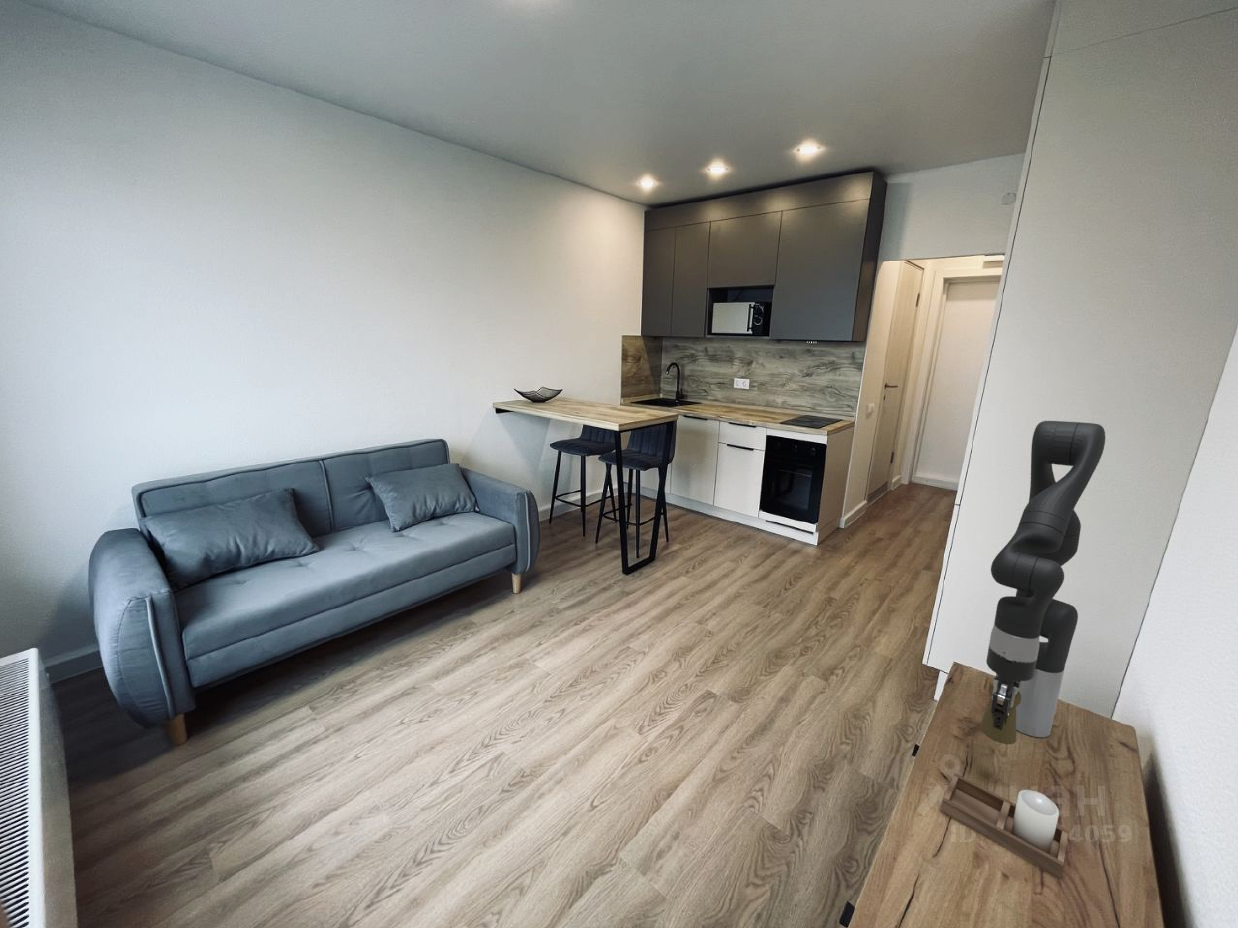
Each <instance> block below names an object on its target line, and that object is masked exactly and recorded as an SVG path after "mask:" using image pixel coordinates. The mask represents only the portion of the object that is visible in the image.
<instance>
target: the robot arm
mask: <svg viewBox="0 0 1238 928" xmlns="http://www.w3.org/2000/svg"><path fill="white" fill-rule="evenodd" d="M1105 445H1106V431H1105V428H1104V427H1103V426H1102V424H1101V425H1100V423H1099V424H1098V423H1093V422H1080V421H1064V420H1063V421H1062V420H1061V421H1060V420H1043V421H1041V422H1038V424H1037V425H1036V426H1035V428H1034V431H1033V435H1032V440H1031V451H1030V452H1031V453H1030V488H1029V498H1028V503H1027V504H1026V506H1025V508H1024V509H1023V511H1022V515H1021V517H1020V520H1019V523H1018V525H1017V528H1016V529H1015V530H1016V531H1015V532H1014V534H1013V535H1012V537H1011V538H1010V540H1009V541H1008V542H1007V543H1006V544H1005V546H1003V548H1002V549H1001V550H1000V551H999V552H998V553H997V555H996V556H995V557H994V559H993V561H992V563H991V566H990V573H991V577H992V579H993V580H994V581H995V582H996V583H997V584H1000V585H1002V586H1004V587H1008V588H1011V589H1015V590H1016V592H1015V593H1016V594H1015V595H1014V596H1013V595H1011V596H1008V595H1007V596H1003V597H1001V598H999V600H998V602H997V604H996V610H995V611H996V612H995V616H994V621H993V627H992V628H991V632H990V637H989V643H988V649H987V656H986V659H985V660H986V661H985V662H986V665H987V666H988V668H989V669H990V670H991V671H992V672H993V673H996V674H995V676H994V678H993V682H992V683H993V686H994V689H993V694H992V700H993V701H992V709H991V713H992V714H993V717H994V716H995V718H994V724H993V727H995V728H997V729H999V730H1002V727H1003V722H1004V721H1005V726H1006V720H1007V718H1008V716H1009V709H1010V707H1013V705H1014V699H1015V695H1016V694H1017V693H1018V691H1019V692H1020V694H1021V702H1020V704H1019V705H1018V706H1016V731H1018V732H1020V733H1022V734H1024V735H1028V736H1031V737H1036V738H1047V737H1049V736H1050V735H1051V732H1052V727H1053V724H1054V719H1055V715H1056V709H1057V705H1058V701H1059V696H1060V691H1061V686H1062V682H1063V678H1064V677H1063V676H1064V674H1065V673H1064V672H1065V668H1066V663H1067V660H1068V657H1069V653H1070V648H1071V644H1072V640H1073V637H1074V634H1075V632H1076V628H1077V625H1078V619H1079V614H1078V610H1077V609H1076V607H1075V606H1074V605H1071V604H1069V603H1066V602H1064V601H1060V600H1057V599H1055V598H1054V597H1055V596H1056V595H1057V593H1058V592H1059V590H1060V589H1061V587H1062V585H1063V583H1064V581H1065V580H1064V579H1065V572H1064V569H1063V567H1062V566H1064V565H1065V564H1067V563H1068V562H1069V561H1070V560H1071V559H1072V558H1073V557H1074V556H1075V555H1076V554H1077V552H1078V548H1079V543H1080V542H1079V541H1080V537H1081V536H1080V535H1081V530H1082V524H1081V520H1080V517H1079V516H1078V515H1077V512H1076V511H1075V507H1076V506H1077V503H1078V501H1079V500H1080V499H1081V497H1082V495H1083V493H1084V491H1085V490H1086V488H1087V486H1088V484H1089V482H1090V481H1091V478H1092V476H1093V474H1094V472H1095V471H1096V468H1097V467H1098V465H1099V463H1100V460H1101V459H1102V456H1103V453H1104V449H1105ZM1053 465H1058V466H1066V467H1067V466H1068V467H1071V468H1070V470H1069V471H1068V472H1067V473H1066V474H1065V475H1064V476H1063V477H1062V478H1060V479H1059V480H1058V481H1056V478H1055V474H1054V470H1053ZM1040 637H1042V638H1044V639H1047V641H1040ZM996 691H997V693H996ZM1011 694H1012V696H1011ZM1010 697H1011V701H1010ZM993 717H992V719H993ZM997 724H998V725H997Z"/></svg>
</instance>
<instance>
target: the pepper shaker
mask: <svg viewBox="0 0 1238 928" xmlns="http://www.w3.org/2000/svg"><path fill="white" fill-rule="evenodd" d="M993 689H994V686H993V682H992V683H991V684H989V688H988V694H989V697H990V698H989V701H988V703H987V706H986V709H985V712H984V714H983V717H982V719H981V722H980V725H979V729H980V731H981V732H982V733H983V735H985V736H986V737H987V738H988V739H991V740H992V741H994V742H997V743H1000V744H1004V745H1013V744H1015V743H1016V742H1017V730H1016V706H1018V705H1019V704H1020V702H1021V694H1020V692H1019V691H1018V693H1017V694H1016V695H1015V699H1014V705H1013V707H1010V709H1009V716H1008V718H1007V720H1006V726H1005V721H1004V722H1003V727H1002V730H999V729H997V728H995V727H993V724H994V718H995V716H994V717H993V714H992V713H991V709H992V701H993V700H992V694H993ZM996 693H997V691H996ZM1011 696H1012V694H1011ZM1010 701H1011V697H1010ZM992 717H993V719H992ZM997 725H998V724H997Z"/></svg>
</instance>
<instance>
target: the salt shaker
mask: <svg viewBox="0 0 1238 928" xmlns="http://www.w3.org/2000/svg"><path fill="white" fill-rule="evenodd" d="M1017 795H1018V796H1017V801H1016V803H1015V804H1016V809H1015V814H1014V819H1013V824H1012V828H1011V834H1012V835H1014V836H1016V837H1018V838H1019V839H1021V840H1023V841H1025V842H1027V843H1029V844H1030V845H1032V846H1034V847H1036V848H1038V849H1040V850H1042V851H1043V852H1045V853H1047V854H1049V855H1050V851H1051V847H1052V843H1053V838H1054V834H1055V830H1056V825H1058V820H1059V816H1060V810H1059V808H1058V806H1057V805H1056V804H1055V803H1054V802H1053V801H1052V800H1051V799H1050V798H1049V797H1047V796H1046V795H1045V794H1044V793H1042V792H1039V791H1035V790H1030V789H1021V790H1020V791H1019V792H1018V794H1017Z"/></svg>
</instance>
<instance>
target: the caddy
mask: <svg viewBox="0 0 1238 928" xmlns="http://www.w3.org/2000/svg"><path fill="white" fill-rule="evenodd" d="M1016 804H1017V803H1014V802H1012V801H1011V800H1008V799H1007V798H1004V797H1002V796H1001V795H998V794H997V793H995V792H992V791H991V790H990V789H988V788H985V787H983V786H981V785H979V784H977V783H975V782H973V781H971V780H970V779H967V778H965V777H963V776H961V775H959V774H957V773H953V776H952V778H951V780H950V783H949V784H948V787H947V790H946V792H945V794H944V796H943V798H942V803H941V809H940V813H943V814H945V815H946V816H948V817H950V818H952V819H953V820H955V821H956V822H959V823H961V824H962V825H964V826H966V827H967V828H969V829H971V830H973V831H975V832H977V833H979V834H980V835H981V836H984V837H985V838H987V839H989V840H991V841H992V842H994V843H996V844H998V846H999V845H1000V846H1001V847H1003V848H1004V849H1007V850H1008V851H1010V852H1012V853H1013V854H1015V855H1017V856H1019V857H1021V858H1022V859H1025V860H1026V861H1028V862H1029V863H1031V864H1033V865H1034V866H1036V867H1039V868H1040V869H1042V870H1043V871H1046V872H1048V874H1050V875H1052V876H1054V877H1057V878H1058V879H1060V880H1061V878H1062V873H1063V869H1064V866H1065V865H1064V863H1065V858H1066V857H1065V856H1066V852H1067V851H1066V850H1067V844H1068V837H1069V830H1068V829H1065V828H1064V827H1061V825H1060V826H1059V825H1058V824H1057V825H1056V830H1055V834H1054V838H1053V843H1052V847H1051V851H1050V855H1049V854H1047V853H1045V852H1043V851H1042V850H1040V849H1038V848H1036V847H1034V846H1032V845H1030V844H1029V843H1027V842H1025V841H1023V840H1021V839H1019V838H1018V837H1016V836H1014V835H1012V834H1011V828H1012V824H1013V819H1014V814H1015V809H1016Z"/></svg>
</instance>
